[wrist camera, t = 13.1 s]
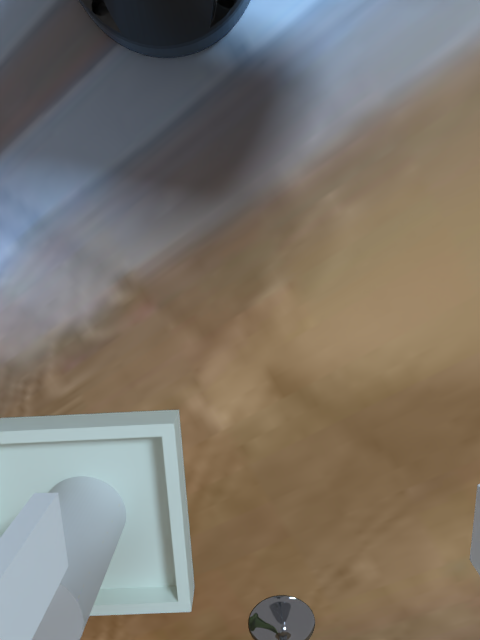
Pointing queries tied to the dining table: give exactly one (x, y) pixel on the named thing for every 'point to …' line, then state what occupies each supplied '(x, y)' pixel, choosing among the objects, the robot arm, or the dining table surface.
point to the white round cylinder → (82, 553)
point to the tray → (131, 484)
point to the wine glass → (281, 619)
